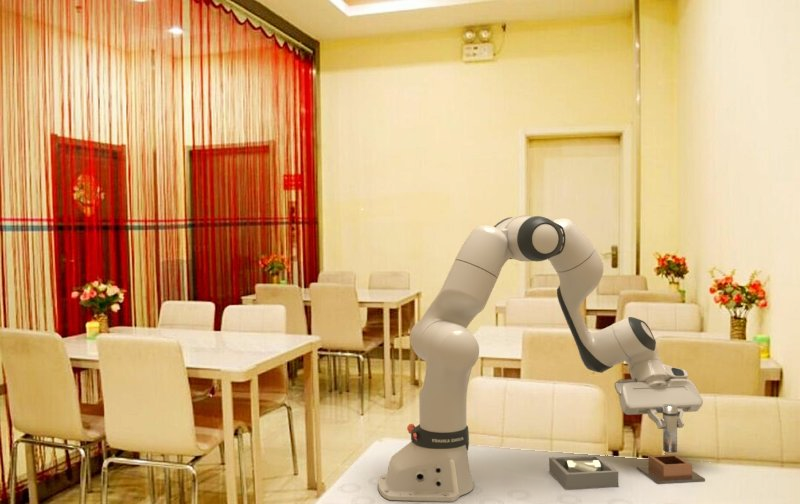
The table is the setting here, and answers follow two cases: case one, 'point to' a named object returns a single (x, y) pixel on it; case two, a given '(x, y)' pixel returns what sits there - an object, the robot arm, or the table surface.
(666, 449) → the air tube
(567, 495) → the table surface
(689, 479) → the collar
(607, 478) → the parts corral
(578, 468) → the pipe fitting
